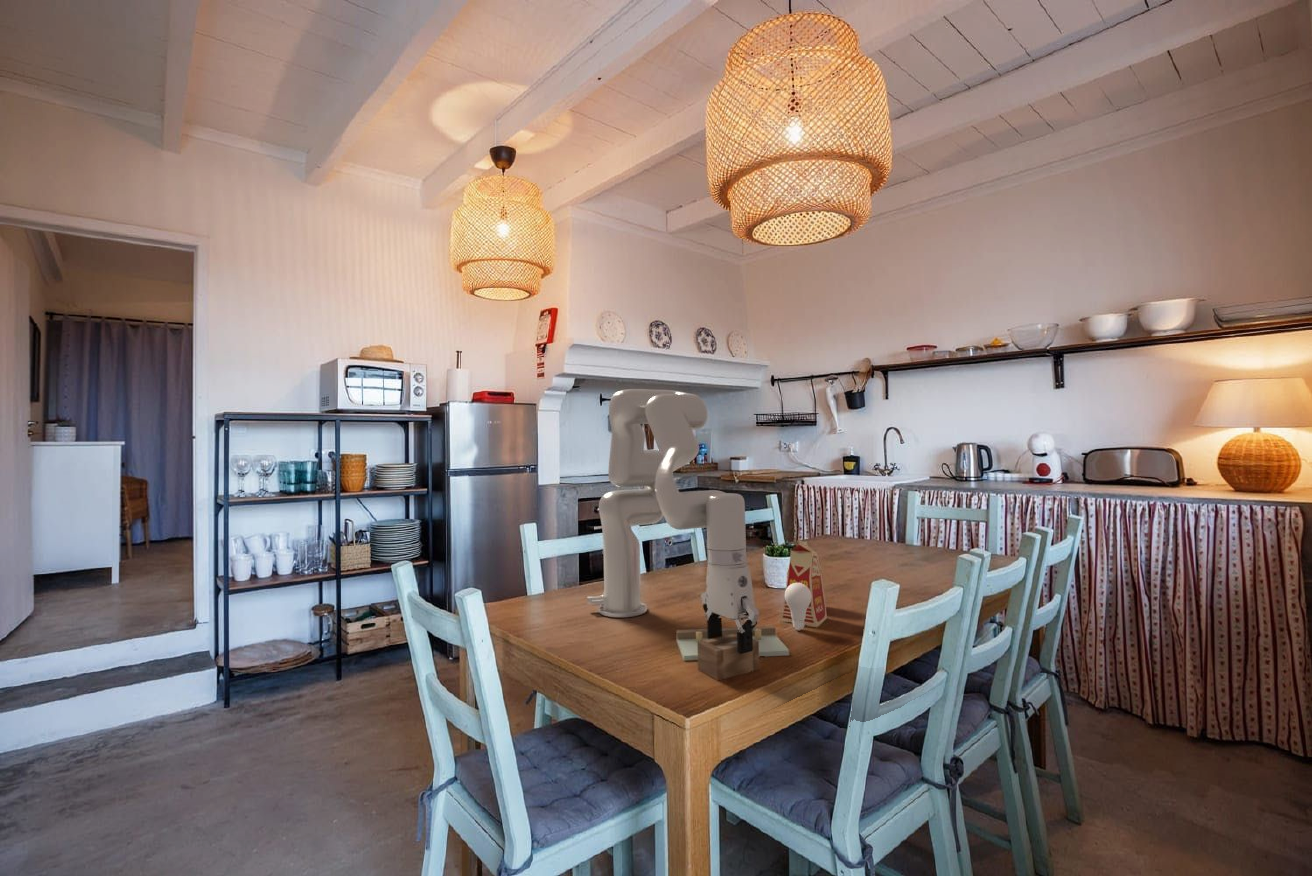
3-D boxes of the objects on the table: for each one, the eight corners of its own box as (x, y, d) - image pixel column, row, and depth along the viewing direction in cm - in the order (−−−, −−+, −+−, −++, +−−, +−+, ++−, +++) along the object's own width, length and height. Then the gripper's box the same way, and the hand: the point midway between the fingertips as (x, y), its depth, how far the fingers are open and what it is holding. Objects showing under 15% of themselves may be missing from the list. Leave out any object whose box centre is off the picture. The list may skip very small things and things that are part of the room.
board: (683, 660, 127) (683, 646, 127) (676, 641, 139) (676, 627, 139) (789, 655, 129) (789, 640, 129) (773, 636, 141) (773, 623, 141)
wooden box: (717, 680, 116) (716, 651, 116) (698, 669, 122) (697, 641, 122) (759, 669, 121) (758, 641, 121) (738, 659, 127) (738, 632, 127)
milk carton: (816, 627, 147) (815, 542, 147) (779, 621, 152) (778, 539, 152) (828, 617, 155) (826, 536, 155) (792, 612, 160) (791, 534, 159)
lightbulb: (794, 624, 149) (793, 578, 149) (817, 630, 145) (816, 582, 145) (780, 630, 145) (779, 583, 145) (802, 636, 141) (802, 587, 141)
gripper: (771, 561, 116) (774, 654, 116) (716, 549, 131) (719, 631, 131) (738, 566, 112) (741, 662, 112) (686, 553, 127) (689, 637, 127)
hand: (729, 645), depth 121 cm, fingers open, 9 cm apart
